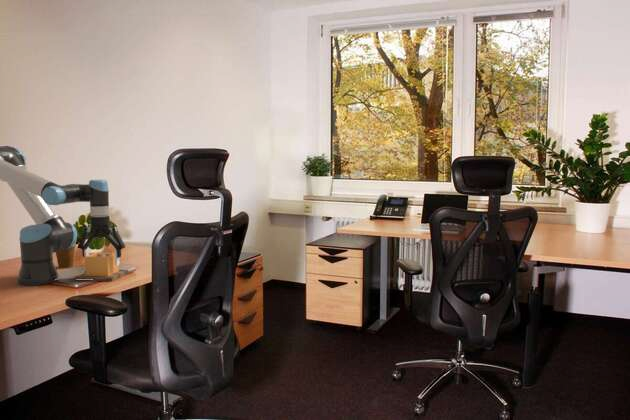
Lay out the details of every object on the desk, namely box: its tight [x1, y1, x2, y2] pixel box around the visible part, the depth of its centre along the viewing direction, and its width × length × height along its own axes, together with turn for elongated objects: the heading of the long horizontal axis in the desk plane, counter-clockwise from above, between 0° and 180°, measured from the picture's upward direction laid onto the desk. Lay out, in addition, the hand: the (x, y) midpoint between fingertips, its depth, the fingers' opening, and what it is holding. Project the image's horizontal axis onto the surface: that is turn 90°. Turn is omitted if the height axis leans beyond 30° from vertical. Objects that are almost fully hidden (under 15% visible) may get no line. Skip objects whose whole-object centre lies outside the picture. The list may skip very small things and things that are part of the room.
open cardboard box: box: [84, 252, 120, 276], centre depth 233 cm, size 10×10×8 cm
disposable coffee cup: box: [55, 243, 77, 269], centre depth 254 cm, size 10×10×12 cm
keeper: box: [74, 254, 129, 282], centre depth 234 cm, size 16×16×10 cm
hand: (102, 264), depth 233 cm, fingers open, 13 cm apart
